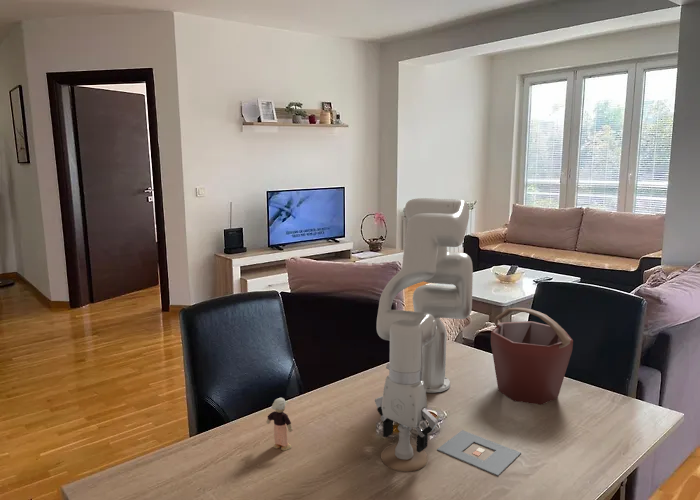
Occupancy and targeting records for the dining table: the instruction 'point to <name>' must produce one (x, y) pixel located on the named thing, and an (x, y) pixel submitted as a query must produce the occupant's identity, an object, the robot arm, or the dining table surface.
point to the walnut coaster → (404, 465)
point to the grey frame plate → (492, 464)
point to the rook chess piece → (404, 443)
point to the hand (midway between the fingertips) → (404, 442)
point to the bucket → (530, 357)
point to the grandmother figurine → (280, 424)
